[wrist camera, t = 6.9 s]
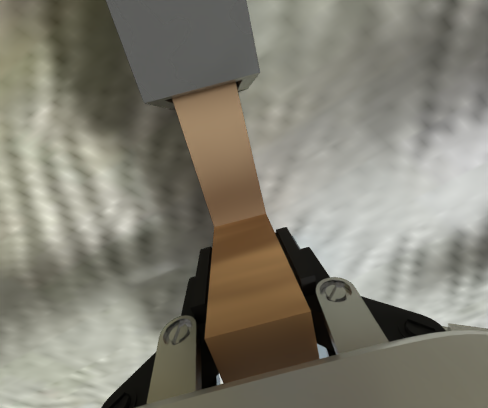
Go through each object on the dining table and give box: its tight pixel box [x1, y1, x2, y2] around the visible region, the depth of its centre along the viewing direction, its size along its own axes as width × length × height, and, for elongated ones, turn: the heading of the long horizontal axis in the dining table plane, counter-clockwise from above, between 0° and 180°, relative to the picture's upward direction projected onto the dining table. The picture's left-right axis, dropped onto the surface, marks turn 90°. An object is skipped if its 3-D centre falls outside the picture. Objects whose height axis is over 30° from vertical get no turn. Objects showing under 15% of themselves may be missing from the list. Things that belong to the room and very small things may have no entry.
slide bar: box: [172, 82, 320, 383], centre depth 10 cm, size 18×3×10 cm, turn 14°
